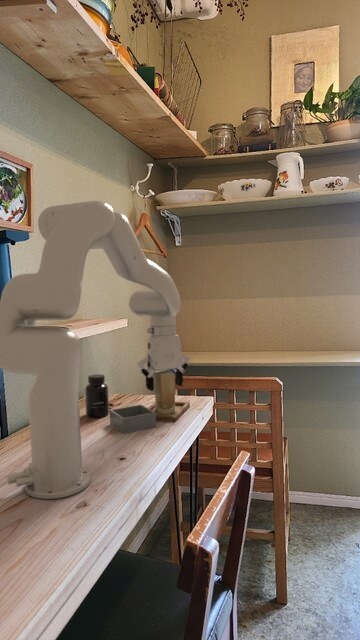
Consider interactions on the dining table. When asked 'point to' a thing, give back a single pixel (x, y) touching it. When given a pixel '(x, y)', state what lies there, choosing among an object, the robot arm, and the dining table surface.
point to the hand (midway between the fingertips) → (165, 387)
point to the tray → (172, 417)
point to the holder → (132, 418)
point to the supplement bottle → (96, 397)
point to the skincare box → (165, 392)
